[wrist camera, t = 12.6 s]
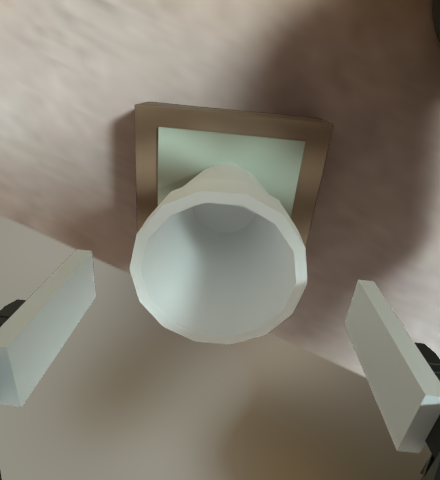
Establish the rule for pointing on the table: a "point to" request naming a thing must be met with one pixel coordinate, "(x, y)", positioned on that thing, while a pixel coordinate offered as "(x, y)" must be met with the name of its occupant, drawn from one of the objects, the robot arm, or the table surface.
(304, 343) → the table surface
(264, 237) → the foam cup
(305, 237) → the walnut plinth
